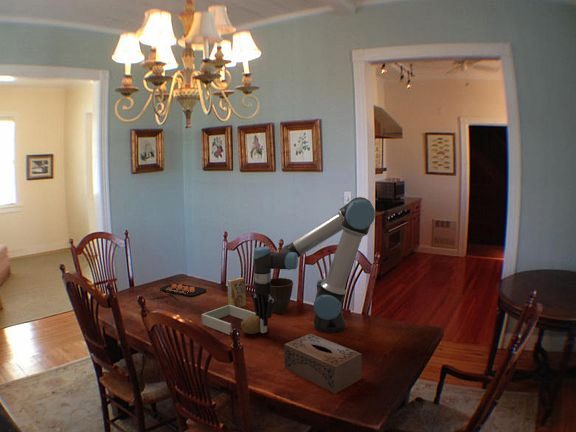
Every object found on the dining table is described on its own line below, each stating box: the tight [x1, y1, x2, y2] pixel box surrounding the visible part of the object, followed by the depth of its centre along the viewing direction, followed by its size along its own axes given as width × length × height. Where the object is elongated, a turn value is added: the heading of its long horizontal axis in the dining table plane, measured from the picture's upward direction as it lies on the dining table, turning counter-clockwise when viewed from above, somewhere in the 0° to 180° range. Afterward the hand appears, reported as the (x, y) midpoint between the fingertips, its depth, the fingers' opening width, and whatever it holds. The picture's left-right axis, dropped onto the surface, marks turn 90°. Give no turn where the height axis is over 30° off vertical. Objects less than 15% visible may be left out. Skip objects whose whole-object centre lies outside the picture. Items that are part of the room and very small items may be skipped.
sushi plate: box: [151, 282, 208, 302], centre depth 263 cm, size 29×30×4 cm
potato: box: [240, 315, 261, 335], centre depth 204 cm, size 10×14×8 cm
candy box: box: [227, 277, 247, 308], centre depth 239 cm, size 9×4×15 cm, turn 129°
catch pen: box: [200, 304, 256, 336], centre depth 215 cm, size 21×18×5 cm
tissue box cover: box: [283, 333, 363, 394], centre depth 165 cm, size 26×14×10 cm, turn 43°
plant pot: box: [270, 277, 294, 315], centre depth 231 cm, size 15×15×16 cm
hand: (263, 331), depth 200 cm, fingers closed
